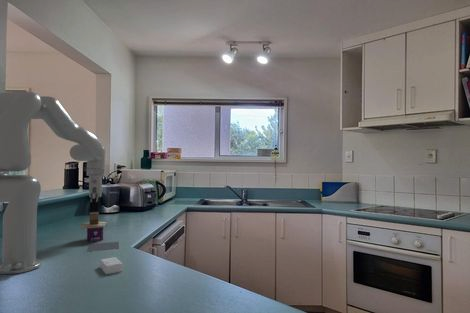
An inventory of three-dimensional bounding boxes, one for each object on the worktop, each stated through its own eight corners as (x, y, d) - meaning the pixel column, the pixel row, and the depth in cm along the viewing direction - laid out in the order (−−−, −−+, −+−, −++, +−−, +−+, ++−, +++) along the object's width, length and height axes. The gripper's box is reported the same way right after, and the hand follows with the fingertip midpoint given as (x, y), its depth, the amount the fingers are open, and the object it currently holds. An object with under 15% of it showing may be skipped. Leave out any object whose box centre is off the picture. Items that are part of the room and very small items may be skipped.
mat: (119, 249, 129) (119, 248, 129) (87, 252, 125) (87, 251, 125) (118, 242, 140) (118, 241, 140) (89, 244, 136) (89, 244, 136)
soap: (123, 272, 104) (123, 263, 104) (105, 275, 101) (105, 266, 101) (115, 264, 111) (116, 256, 111) (99, 267, 108) (99, 258, 108)
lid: (106, 227, 141) (106, 214, 141) (79, 228, 137) (79, 215, 137) (107, 222, 151) (107, 210, 151) (82, 224, 147) (82, 211, 147)
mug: (87, 243, 138) (87, 228, 138) (86, 238, 147) (86, 224, 147) (103, 242, 141) (103, 226, 141) (101, 237, 150) (102, 223, 150)
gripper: (103, 172, 138) (102, 211, 137) (104, 172, 154) (103, 207, 153) (85, 172, 135) (83, 212, 134) (87, 172, 151) (86, 207, 150)
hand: (94, 209), depth 144 cm, fingers open, 9 cm apart
